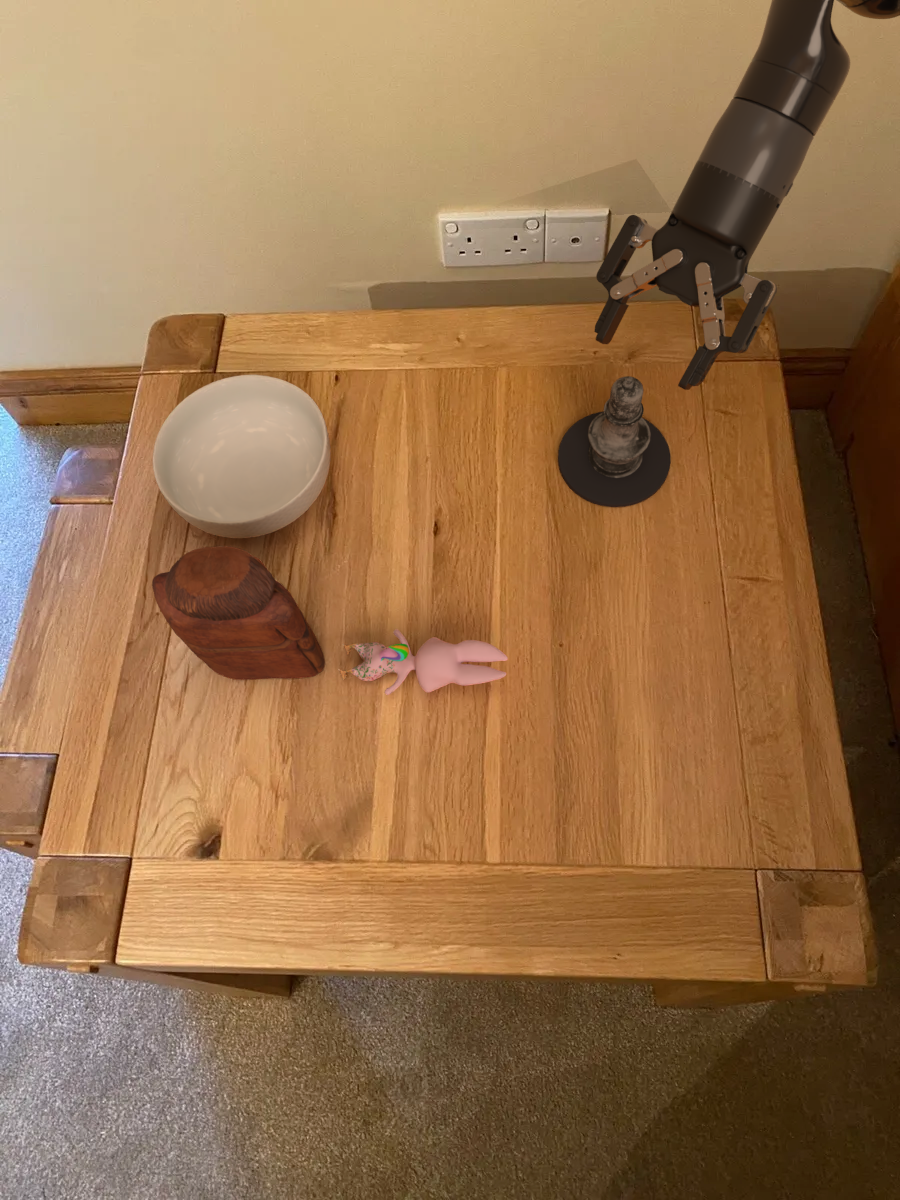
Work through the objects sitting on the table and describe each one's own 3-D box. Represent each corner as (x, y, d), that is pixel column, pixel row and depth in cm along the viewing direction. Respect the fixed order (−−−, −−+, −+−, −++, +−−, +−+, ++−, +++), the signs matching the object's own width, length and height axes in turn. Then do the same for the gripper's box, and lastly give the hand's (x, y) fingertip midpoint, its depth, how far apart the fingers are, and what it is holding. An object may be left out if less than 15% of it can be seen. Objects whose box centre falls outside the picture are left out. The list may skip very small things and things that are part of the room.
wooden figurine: (332, 620, 83) (288, 526, 66) (328, 685, 80) (280, 604, 64) (209, 621, 84) (134, 529, 67) (200, 686, 81) (120, 606, 65)
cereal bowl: (308, 574, 85) (291, 539, 78) (151, 540, 88) (122, 503, 81) (361, 431, 91) (350, 387, 85) (213, 403, 94) (191, 359, 88)
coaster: (640, 400, 91) (641, 396, 90) (689, 485, 86) (690, 481, 86) (540, 435, 90) (541, 431, 89) (585, 522, 85) (585, 519, 85)
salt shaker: (574, 446, 88) (582, 367, 77) (624, 421, 89) (639, 340, 78) (605, 490, 86) (619, 415, 75) (657, 464, 87) (677, 386, 76)
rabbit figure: (345, 701, 81) (507, 706, 77) (322, 679, 76) (494, 684, 72) (356, 637, 83) (513, 640, 80) (334, 612, 78) (501, 613, 74)
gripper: (651, 132, 70) (559, 327, 77) (815, 206, 65) (701, 405, 72) (677, 152, 76) (590, 329, 83) (828, 220, 72) (722, 402, 79)
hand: (642, 365), depth 78 cm, fingers open, 8 cm apart
